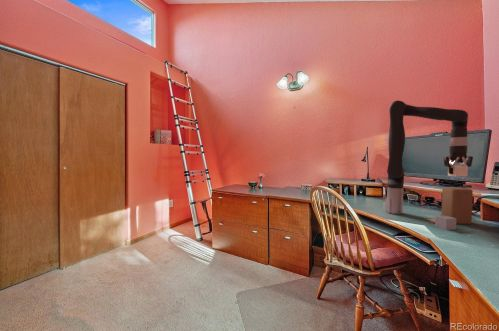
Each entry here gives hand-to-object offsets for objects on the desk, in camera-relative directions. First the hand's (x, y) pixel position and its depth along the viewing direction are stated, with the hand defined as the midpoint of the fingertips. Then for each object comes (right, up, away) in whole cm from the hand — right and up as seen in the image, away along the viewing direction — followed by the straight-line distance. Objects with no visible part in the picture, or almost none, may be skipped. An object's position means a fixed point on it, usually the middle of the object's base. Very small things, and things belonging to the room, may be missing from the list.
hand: (457, 174), depth 129 cm
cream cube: (0, -1, 0) cm, 1 cm away
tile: (-11, -28, +2) cm, 30 cm away
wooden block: (0, -28, +1) cm, 28 cm away
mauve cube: (-16, -29, -10) cm, 34 cm away
